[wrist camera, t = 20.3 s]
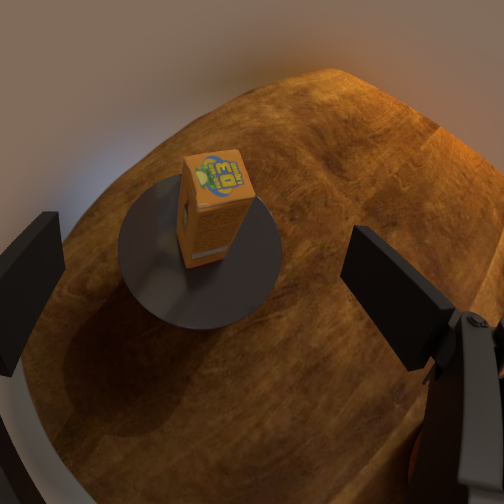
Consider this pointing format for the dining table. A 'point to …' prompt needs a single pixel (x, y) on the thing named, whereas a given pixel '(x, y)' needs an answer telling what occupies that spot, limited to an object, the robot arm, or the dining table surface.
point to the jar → (201, 277)
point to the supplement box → (211, 205)
